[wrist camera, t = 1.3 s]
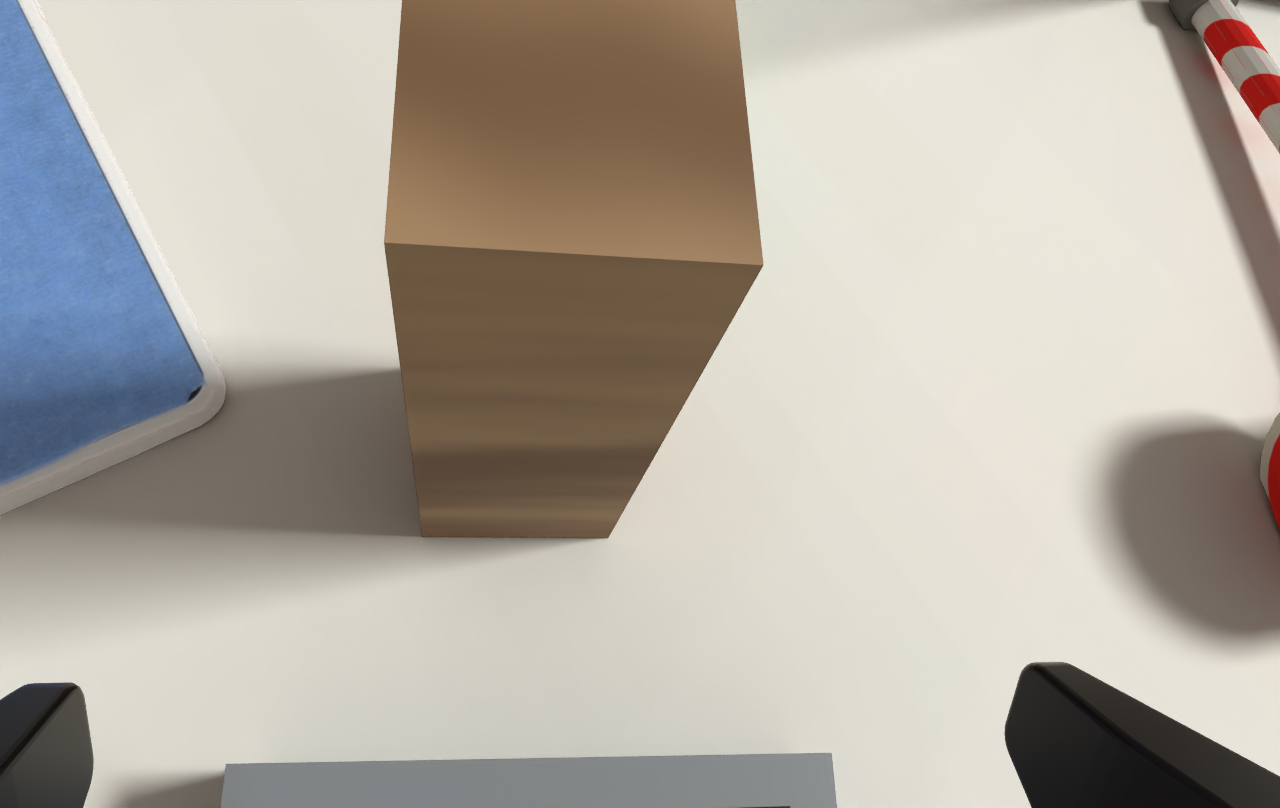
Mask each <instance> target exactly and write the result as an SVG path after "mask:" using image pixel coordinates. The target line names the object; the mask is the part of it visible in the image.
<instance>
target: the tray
mask: <svg viewBox="0 0 1280 808" xmlns="http://www.w3.org/2000/svg"><path fill="white" fill-rule="evenodd" d="M220 808H837V804H836V793H835V783H834V773H833V762H832V753H803V754H748V755H693V756H638V757H583V758H527V759H472V760H417V761H362V762H307V763H252V764H226V768H225V776H224V783H223V790H222V797H221V805H220Z"/></svg>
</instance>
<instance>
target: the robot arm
mask: <svg viewBox="0 0 1280 808" xmlns="http://www.w3.org/2000/svg"><path fill="white" fill-rule="evenodd" d="M1005 741H1006V746H1007V749H1008V752H1009V755H1010V757H1011V760H1012V762H1013V764H1014V767H1015V769H1016V771H1017V774H1018V776H1019V779H1020V781H1021V783H1022V786H1023V788H1024V790H1025V793H1026V795H1027V798H1028V800H1029V802H1030V805H1031V807H1032V808H1280V776H1278V775H1276V774H1274V773H1272V772H1270V771H1268V770H1267V769H1265V768H1263V767H1261V766H1259V765H1257V764H1255V763H1254V762H1252V761H1250V760H1248V759H1246V758H1244V757H1242V756H1241V755H1239V754H1237V753H1235V752H1233V751H1231V750H1229V749H1227V748H1226V747H1224V746H1222V745H1220V744H1218V743H1216V742H1214V741H1213V740H1211V739H1209V738H1207V737H1205V736H1203V735H1201V734H1200V733H1198V732H1196V731H1194V730H1192V729H1190V728H1188V727H1186V726H1185V725H1183V724H1181V723H1179V722H1177V721H1175V720H1173V719H1172V718H1170V717H1168V716H1166V715H1164V714H1162V713H1160V712H1159V711H1157V710H1155V709H1153V708H1151V707H1149V706H1147V705H1145V704H1144V703H1142V702H1140V701H1138V700H1136V699H1134V698H1132V697H1131V696H1129V695H1127V694H1125V693H1123V692H1121V691H1119V690H1118V689H1116V688H1114V687H1112V686H1110V685H1108V684H1106V683H1104V682H1103V681H1101V680H1099V679H1097V678H1095V677H1093V676H1091V675H1090V674H1088V673H1086V672H1084V671H1082V670H1080V669H1078V668H1077V667H1075V666H1073V665H1071V664H1068V663H1064V662H1034V663H1031V664H1028V665H1027V666H1026V667H1025V668H1024V669H1023V670H1022V672H1021V674H1020V677H1019V680H1018V684H1017V687H1016V690H1015V694H1014V697H1013V700H1012V704H1011V707H1010V710H1009V714H1008V717H1007V720H1006V724H1005ZM92 774H93V750H92V744H91V737H90V731H89V724H88V718H87V711H86V705H85V699H84V695H83V692H82V690H81V688H80V687H79V686H77V685H76V684H74V683H33V684H27V685H24V686H22V687H20V688H18V689H16V690H15V691H13V692H12V693H10V694H9V695H7V696H6V697H4V698H2V699H1V700H0V808H83V806H84V803H85V800H86V797H87V793H88V790H89V787H90V784H91V779H92Z"/></svg>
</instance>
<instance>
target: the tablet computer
mask: <svg viewBox="0 0 1280 808" xmlns="http://www.w3.org/2000/svg"><path fill="white" fill-rule="evenodd" d="M225 396H226V384H225V380H224V375H223V372H222V370H221V368H220V367H219V365H218V363H217V361H216V359H215V357H214V355H213V353H212V351H211V349H210V347H209V345H208V343H207V341H206V339H205V337H204V335H203V333H202V331H201V329H200V327H199V325H198V323H197V321H196V319H195V317H194V315H193V313H192V311H191V309H190V307H189V305H188V303H187V301H186V299H185V297H184V295H183V293H182V291H181V289H180V287H179V285H178V283H177V281H176V279H175V277H174V275H173V273H172V271H171V269H170V267H169V265H168V263H167V261H166V259H165V257H164V255H163V253H162V251H161V249H160V247H159V245H158V243H157V241H156V239H155V237H154V235H153V233H152V231H151V229H150V227H149V225H148V223H147V221H146V219H145V217H144V215H143V213H142V211H141V209H140V207H139V205H138V203H137V201H136V199H135V197H134V195H133V193H132V191H131V189H130V187H129V185H128V183H127V181H126V179H125V177H124V175H123V173H122V171H121V169H120V167H119V165H118V163H117V161H116V159H115V157H114V155H113V154H112V152H111V150H110V148H109V146H108V144H107V142H106V140H105V138H104V136H103V134H102V132H101V130H100V128H99V126H98V124H97V122H96V120H95V118H94V116H93V114H92V112H91V110H90V108H89V106H88V104H87V102H86V100H85V98H84V96H83V94H82V92H81V90H80V88H79V86H78V84H77V82H76V80H75V78H74V76H73V74H72V72H71V70H70V68H69V66H68V64H67V62H66V60H65V58H64V56H63V54H62V52H61V50H60V48H59V46H58V44H57V42H56V40H55V38H54V36H53V34H52V32H51V30H50V28H49V26H48V24H47V21H46V17H45V15H44V13H43V11H42V9H41V7H40V5H39V3H38V1H37V0H0V515H2V514H4V513H7V512H9V511H11V510H14V509H16V508H18V507H20V506H23V505H25V504H27V503H29V502H32V501H34V500H36V499H39V498H41V497H43V496H45V495H48V494H50V493H52V492H54V491H57V490H59V489H61V488H64V487H66V486H68V485H70V484H73V483H75V482H77V481H79V480H82V479H84V478H86V477H88V476H91V475H93V474H95V473H98V472H100V471H102V470H104V469H107V468H109V467H111V466H113V465H116V464H118V463H120V462H122V461H125V460H127V459H129V458H131V457H134V456H136V455H138V454H140V453H143V452H145V451H147V450H149V449H151V448H153V447H156V446H158V445H160V444H162V443H164V442H166V441H169V440H171V439H173V438H175V437H177V436H179V435H182V434H184V433H186V432H188V431H190V430H193V429H195V428H197V427H199V426H201V425H203V424H204V423H206V422H207V421H208V420H210V419H211V418H212V417H213V416H215V414H216V413H217V412H218V411H219V410H220V409H221V407H222V405H223V403H224V401H225Z"/></svg>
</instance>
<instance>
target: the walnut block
mask: <svg viewBox="0 0 1280 808" xmlns="http://www.w3.org/2000/svg"><path fill="white" fill-rule="evenodd" d="M384 245H385V253H386V260H387V268H388V276H389V284H390V291H391V299H392V307H393V315H394V322H395V330H396V338H397V345H398V353H399V361H400V369H401V376H402V384H403V392H404V400H405V407H406V415H407V423H408V431H409V438H410V446H411V454H412V461H413V469H414V477H415V485H416V492H417V500H418V508H419V516H420V523H421V531H422V537H558V538H608V537H609V536H610V534H611V532H612V530H613V528H614V527H615V525H616V523H617V521H618V520H619V518H620V516H621V514H622V513H623V511H624V509H625V507H626V506H627V504H628V502H629V500H630V499H631V497H632V495H633V493H634V492H635V490H636V488H637V486H638V485H639V483H640V481H641V479H642V478H643V476H644V474H645V472H646V470H647V469H648V467H649V465H650V463H651V462H652V460H653V458H654V456H655V455H656V453H657V451H658V449H659V448H660V446H661V444H662V442H663V441H664V439H665V437H666V435H667V434H668V432H669V430H670V428H671V427H672V425H673V423H674V421H675V420H676V418H677V416H678V414H679V412H680V411H681V409H682V407H683V405H684V404H685V402H686V400H687V398H688V397H689V395H690V393H691V391H692V390H693V388H694V386H695V384H696V383H697V381H698V379H699V377H700V376H701V374H702V372H703V370H704V369H705V367H706V365H707V363H708V362H709V360H710V358H711V356H712V354H713V353H714V351H715V349H716V347H717V346H718V344H719V342H720V340H721V339H722V337H723V335H724V333H725V332H726V330H727V328H728V326H729V325H730V323H731V321H732V319H733V318H734V316H735V314H736V312H737V311H738V309H739V307H740V305H741V304H742V302H743V300H744V298H745V297H746V295H747V293H748V291H749V289H750V288H751V286H752V284H753V282H754V281H755V279H756V277H757V275H758V274H759V272H760V270H761V268H762V267H763V257H762V248H761V239H760V229H759V220H758V210H757V201H756V191H755V182H754V173H753V163H752V154H751V144H750V135H749V126H748V116H747V107H746V97H745V88H744V78H743V69H742V60H741V50H740V41H739V31H738V22H737V13H736V3H735V0H402V10H401V24H400V37H399V50H398V64H397V77H396V91H395V104H394V118H393V131H392V144H391V158H390V171H389V185H388V198H387V212H386V225H385V238H384Z"/></svg>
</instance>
